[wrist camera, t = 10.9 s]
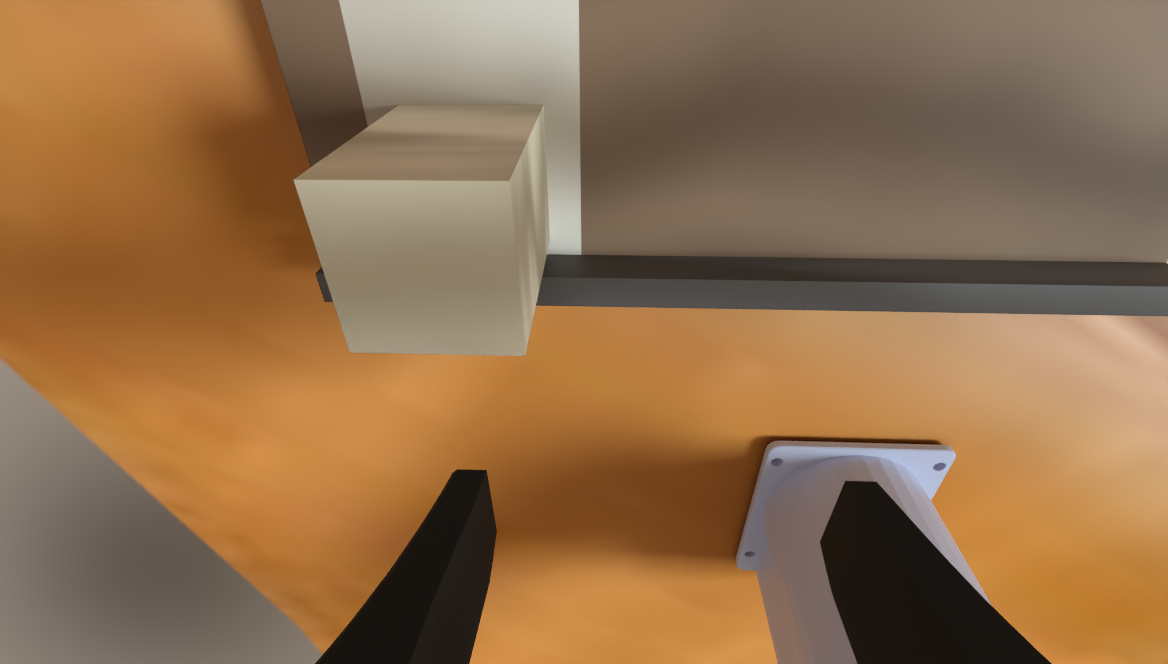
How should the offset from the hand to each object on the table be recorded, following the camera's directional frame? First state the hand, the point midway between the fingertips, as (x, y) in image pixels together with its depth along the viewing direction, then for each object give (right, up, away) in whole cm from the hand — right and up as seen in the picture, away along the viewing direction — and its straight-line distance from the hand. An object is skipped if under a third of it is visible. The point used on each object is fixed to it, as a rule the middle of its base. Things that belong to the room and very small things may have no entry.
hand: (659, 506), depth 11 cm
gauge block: (-5, +8, +5) cm, 11 cm away
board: (+3, +10, +5) cm, 11 cm away
